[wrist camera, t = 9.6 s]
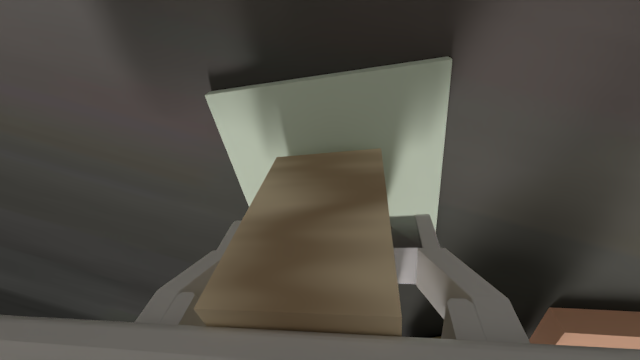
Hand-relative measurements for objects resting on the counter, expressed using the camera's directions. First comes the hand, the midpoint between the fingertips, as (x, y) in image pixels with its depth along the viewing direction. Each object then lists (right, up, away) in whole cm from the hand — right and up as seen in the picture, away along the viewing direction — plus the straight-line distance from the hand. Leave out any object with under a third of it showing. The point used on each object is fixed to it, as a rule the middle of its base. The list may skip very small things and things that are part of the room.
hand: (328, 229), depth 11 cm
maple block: (0, +1, +2) cm, 2 cm away
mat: (0, +2, +3) cm, 4 cm away
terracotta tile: (+18, -8, +8) cm, 22 cm away
